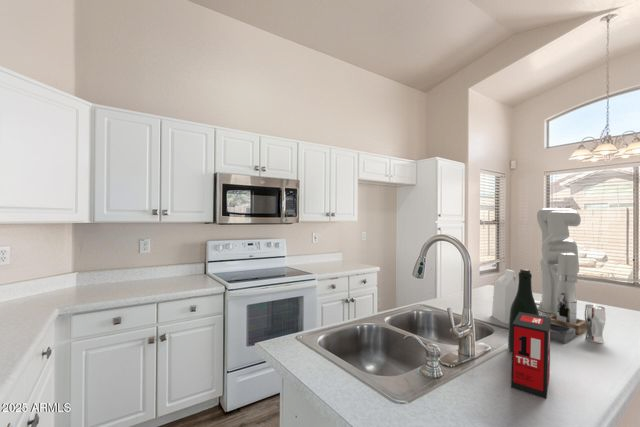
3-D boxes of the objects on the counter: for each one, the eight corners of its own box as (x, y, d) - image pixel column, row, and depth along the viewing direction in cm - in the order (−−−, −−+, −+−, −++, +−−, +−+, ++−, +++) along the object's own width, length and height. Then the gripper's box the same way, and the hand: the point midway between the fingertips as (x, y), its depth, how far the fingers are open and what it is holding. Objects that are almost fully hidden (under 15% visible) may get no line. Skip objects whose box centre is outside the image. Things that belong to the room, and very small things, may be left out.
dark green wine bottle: (533, 349, 125) (535, 268, 125) (544, 361, 115) (546, 272, 115) (504, 345, 127) (506, 266, 128) (512, 357, 117) (514, 270, 118)
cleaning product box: (546, 399, 90) (547, 331, 90) (511, 387, 96) (512, 323, 96) (549, 377, 103) (550, 317, 103) (518, 368, 109) (519, 311, 109)
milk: (527, 324, 155) (528, 272, 155) (504, 323, 155) (505, 272, 155) (513, 316, 167) (514, 268, 167) (491, 315, 167) (492, 268, 167)
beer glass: (586, 341, 134) (587, 307, 134) (582, 336, 140) (582, 303, 140) (607, 345, 131) (608, 309, 131) (602, 339, 137) (602, 305, 137)
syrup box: (555, 327, 151) (556, 297, 151) (564, 326, 153) (564, 296, 153) (568, 331, 146) (568, 300, 146) (576, 330, 148) (577, 300, 148)
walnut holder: (545, 326, 151) (545, 317, 151) (555, 322, 159) (555, 313, 159) (578, 335, 141) (578, 326, 141) (587, 330, 148) (587, 321, 148)
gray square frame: (530, 333, 142) (530, 325, 142) (541, 328, 149) (541, 320, 149) (564, 343, 131) (564, 334, 131) (575, 337, 138) (575, 328, 138)
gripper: (564, 275, 158) (563, 310, 158) (550, 278, 148) (550, 315, 148) (582, 278, 152) (582, 314, 151) (570, 281, 142) (569, 320, 142)
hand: (566, 314), depth 150 cm, fingers closed on syrup box, 7 cm apart
